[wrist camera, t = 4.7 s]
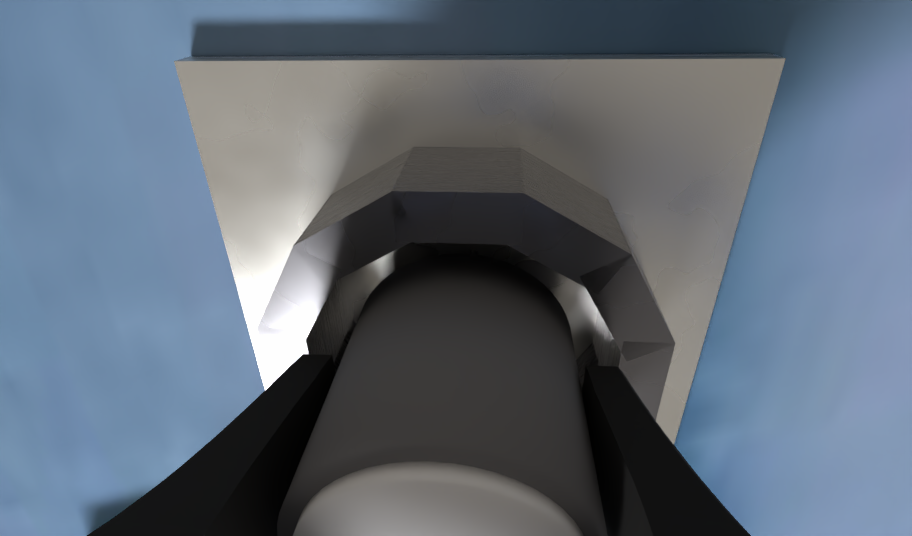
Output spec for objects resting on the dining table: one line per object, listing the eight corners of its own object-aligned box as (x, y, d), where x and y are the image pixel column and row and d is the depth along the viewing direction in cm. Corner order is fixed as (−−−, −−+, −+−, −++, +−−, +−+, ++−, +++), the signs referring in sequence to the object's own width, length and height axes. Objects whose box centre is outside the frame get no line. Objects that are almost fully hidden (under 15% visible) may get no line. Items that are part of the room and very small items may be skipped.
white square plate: (771, 53, 10) (865, 86, 8) (659, 460, 16) (689, 558, 14) (189, 56, 11) (90, 86, 8) (289, 440, 17) (250, 528, 15)
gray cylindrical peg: (580, 253, 11) (637, 473, 6) (565, 425, 13) (597, 671, 9) (341, 253, 11) (228, 458, 6) (371, 419, 14) (305, 650, 9)
